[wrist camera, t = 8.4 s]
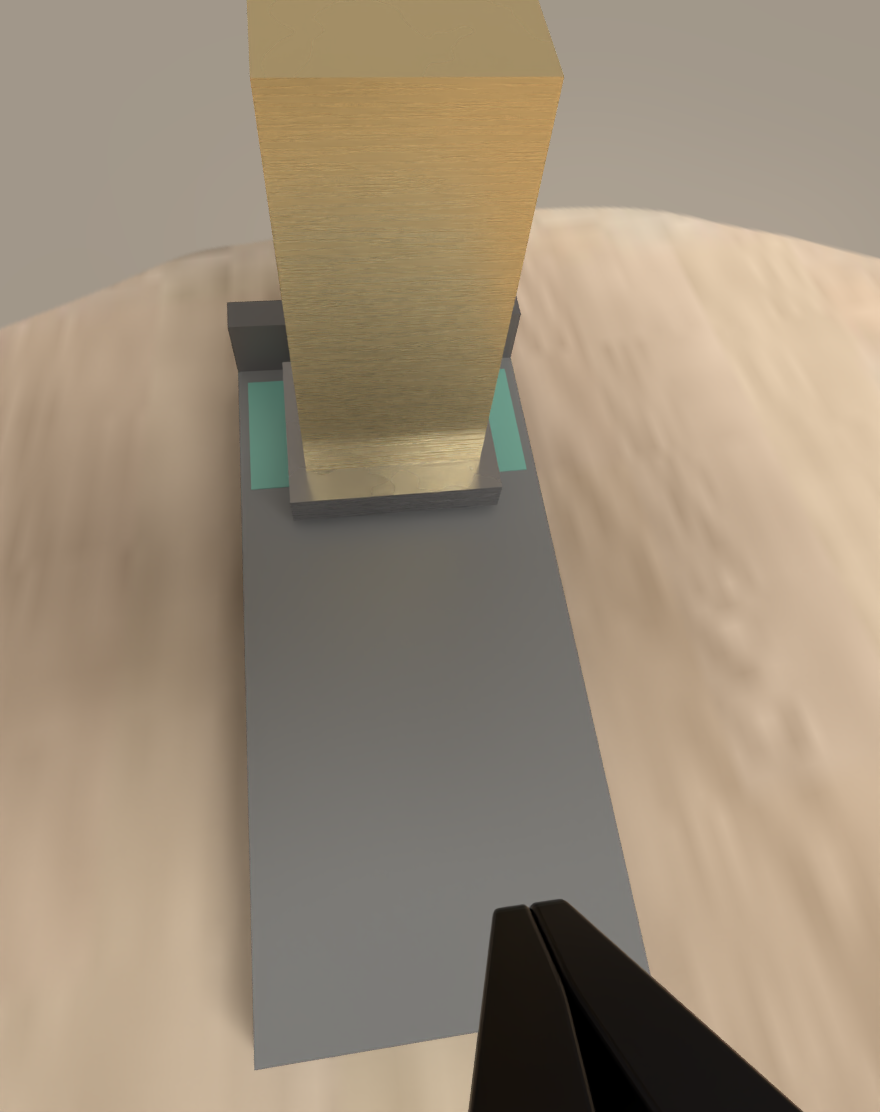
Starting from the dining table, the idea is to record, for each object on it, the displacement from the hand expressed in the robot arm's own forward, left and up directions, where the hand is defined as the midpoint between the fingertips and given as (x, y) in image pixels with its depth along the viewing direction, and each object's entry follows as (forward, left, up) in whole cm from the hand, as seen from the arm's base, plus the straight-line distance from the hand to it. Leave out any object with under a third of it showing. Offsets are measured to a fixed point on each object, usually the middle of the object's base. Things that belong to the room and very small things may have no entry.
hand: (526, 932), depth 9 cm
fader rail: (+6, +5, -11) cm, 14 cm away
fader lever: (+11, +9, -10) cm, 17 cm away
